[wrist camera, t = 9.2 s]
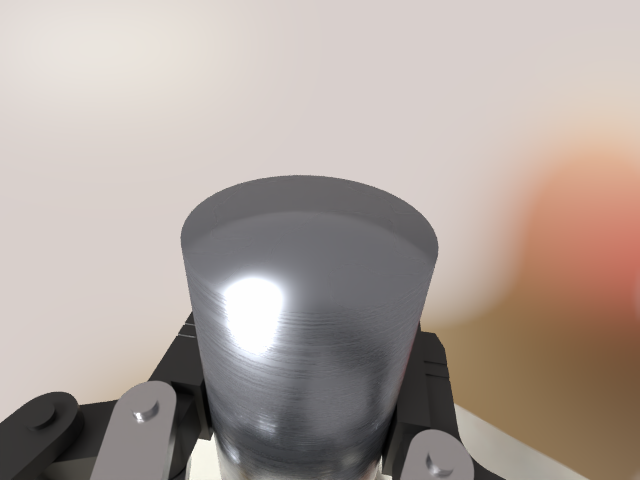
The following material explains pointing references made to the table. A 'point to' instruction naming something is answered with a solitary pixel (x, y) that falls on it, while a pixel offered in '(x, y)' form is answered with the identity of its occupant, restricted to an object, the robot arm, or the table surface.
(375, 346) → the steel peg
